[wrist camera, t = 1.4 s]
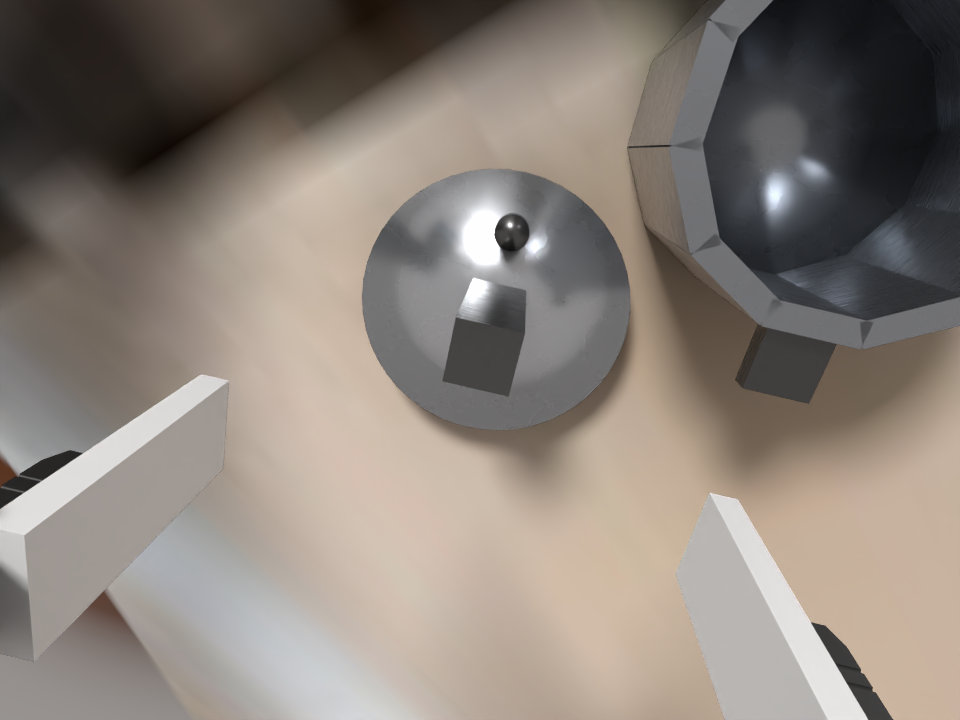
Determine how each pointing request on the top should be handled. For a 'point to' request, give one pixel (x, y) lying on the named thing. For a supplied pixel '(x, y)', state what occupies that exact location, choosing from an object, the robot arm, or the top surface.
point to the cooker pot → (810, 172)
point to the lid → (496, 299)
